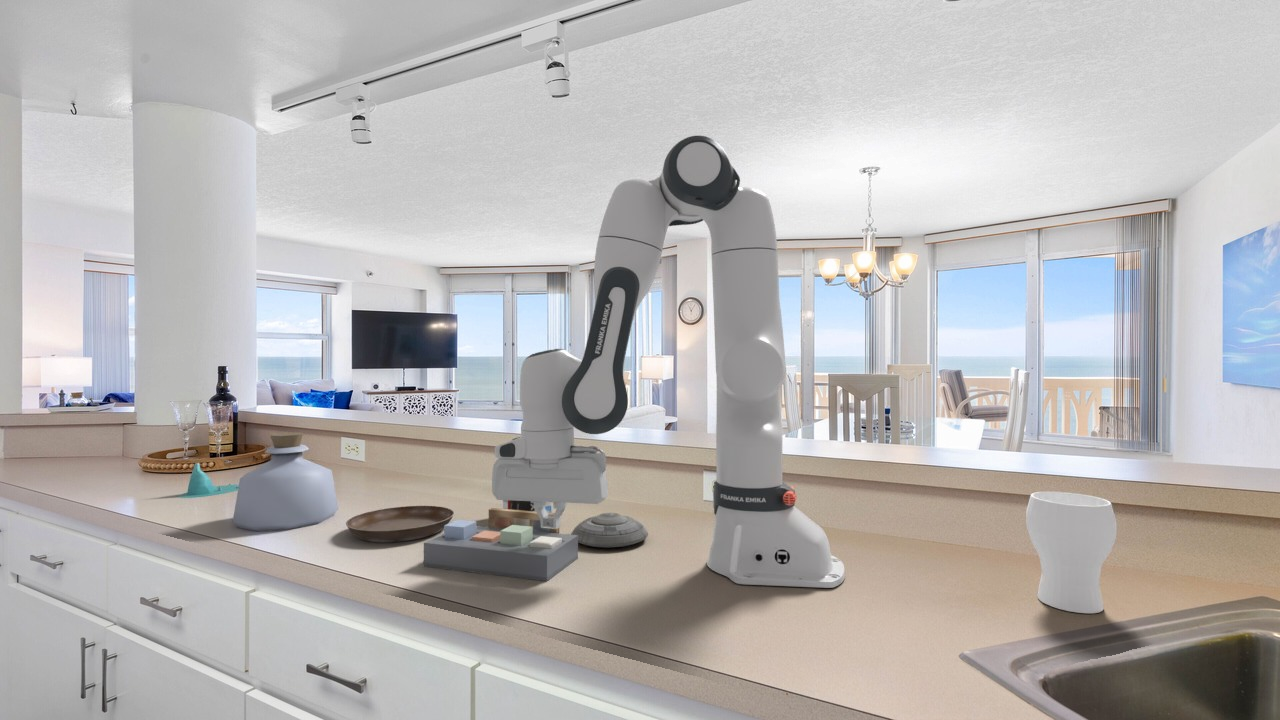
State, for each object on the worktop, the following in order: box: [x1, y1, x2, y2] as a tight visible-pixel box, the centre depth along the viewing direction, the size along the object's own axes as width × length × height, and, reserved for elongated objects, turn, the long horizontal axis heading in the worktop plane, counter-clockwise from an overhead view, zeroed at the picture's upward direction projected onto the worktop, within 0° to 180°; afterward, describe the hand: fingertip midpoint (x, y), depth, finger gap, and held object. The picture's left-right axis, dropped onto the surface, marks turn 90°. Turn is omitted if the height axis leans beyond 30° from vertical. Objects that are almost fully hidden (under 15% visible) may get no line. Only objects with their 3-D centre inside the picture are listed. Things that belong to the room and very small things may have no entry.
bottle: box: [232, 432, 339, 532], centre depth 136 cm, size 20×20×19 cm
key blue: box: [443, 519, 478, 540], centre depth 110 cm, size 4×4×4 cm
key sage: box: [500, 525, 533, 546], centre depth 106 cm, size 4×4×4 cm
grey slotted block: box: [423, 525, 579, 582], centre depth 107 cm, size 23×12×4 cm, turn 72°
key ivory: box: [530, 536, 562, 549], centre depth 105 cm, size 4×4×4 cm
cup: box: [1025, 491, 1117, 614], centre depth 89 cm, size 11×11×15 cm
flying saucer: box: [570, 512, 649, 548], centre depth 120 cm, size 15×15×6 cm
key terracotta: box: [472, 531, 500, 543], centre depth 108 cm, size 4×4×4 cm
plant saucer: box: [345, 505, 455, 543], centre depth 127 cm, size 21×21×3 cm
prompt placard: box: [488, 507, 560, 534], centre depth 114 cm, size 14×1×7 cm, turn 72°
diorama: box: [176, 462, 239, 499], centre depth 166 cm, size 12×20×9 cm, turn 158°
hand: (550, 527), depth 105 cm, fingers closed
